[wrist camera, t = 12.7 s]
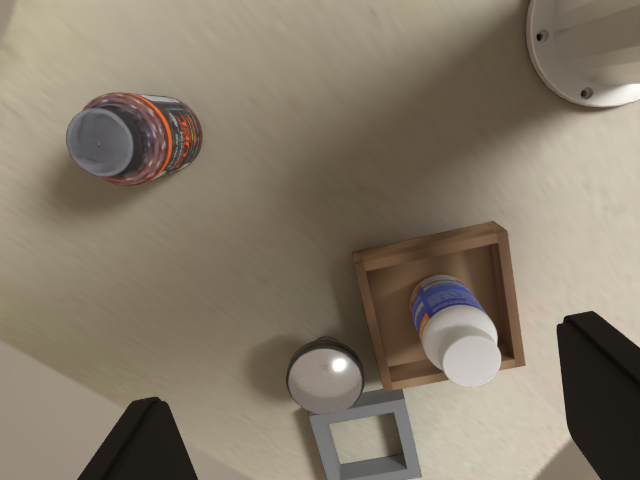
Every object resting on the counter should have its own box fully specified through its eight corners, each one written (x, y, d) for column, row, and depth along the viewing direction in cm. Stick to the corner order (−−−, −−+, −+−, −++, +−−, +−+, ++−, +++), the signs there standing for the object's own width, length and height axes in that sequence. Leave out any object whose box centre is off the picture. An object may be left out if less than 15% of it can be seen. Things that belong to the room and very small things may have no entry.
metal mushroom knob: (352, 310, 41) (354, 341, 35) (367, 370, 42) (371, 408, 37) (284, 324, 41) (276, 357, 36) (302, 383, 43) (297, 422, 38)
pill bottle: (401, 283, 39) (421, 338, 30) (462, 265, 38) (502, 316, 29) (417, 336, 41) (441, 405, 31) (477, 320, 40) (519, 385, 31)
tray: (493, 221, 38) (507, 230, 35) (511, 346, 41) (525, 365, 38) (352, 252, 39) (353, 264, 36) (380, 371, 42) (384, 391, 39)
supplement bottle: (208, 169, 38) (156, 194, 27) (139, 171, 38) (59, 197, 27) (200, 93, 36) (140, 88, 25) (127, 97, 36) (37, 93, 25)
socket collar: (401, 385, 43) (404, 398, 41) (418, 461, 45) (422, 477, 43) (310, 402, 44) (308, 416, 42) (331, 476, 46) (331, 492, 44)
